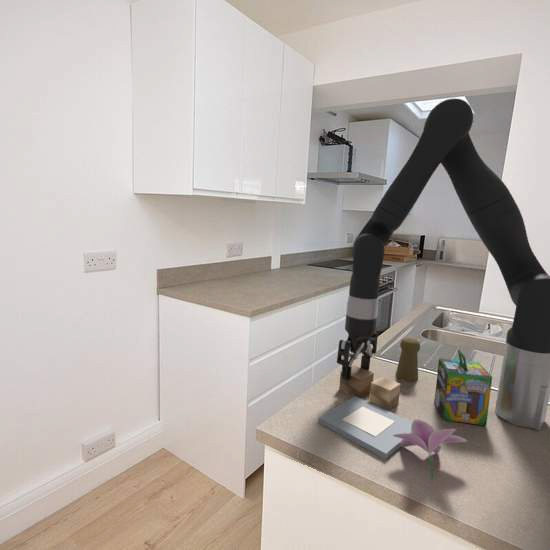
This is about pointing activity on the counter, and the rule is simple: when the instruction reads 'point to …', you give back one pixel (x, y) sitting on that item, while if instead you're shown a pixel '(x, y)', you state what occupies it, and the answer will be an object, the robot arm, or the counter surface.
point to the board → (367, 425)
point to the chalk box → (462, 391)
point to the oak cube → (384, 393)
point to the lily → (428, 438)
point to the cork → (408, 360)
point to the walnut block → (357, 382)
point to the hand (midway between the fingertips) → (355, 374)
